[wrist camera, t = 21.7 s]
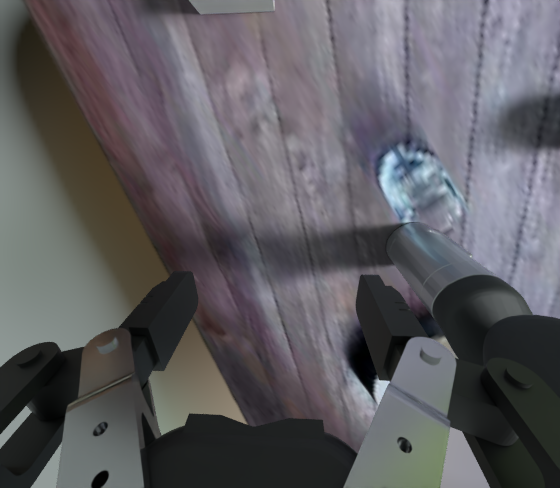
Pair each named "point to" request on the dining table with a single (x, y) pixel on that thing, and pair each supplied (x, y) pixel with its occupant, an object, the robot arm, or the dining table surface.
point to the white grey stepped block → (232, 6)
